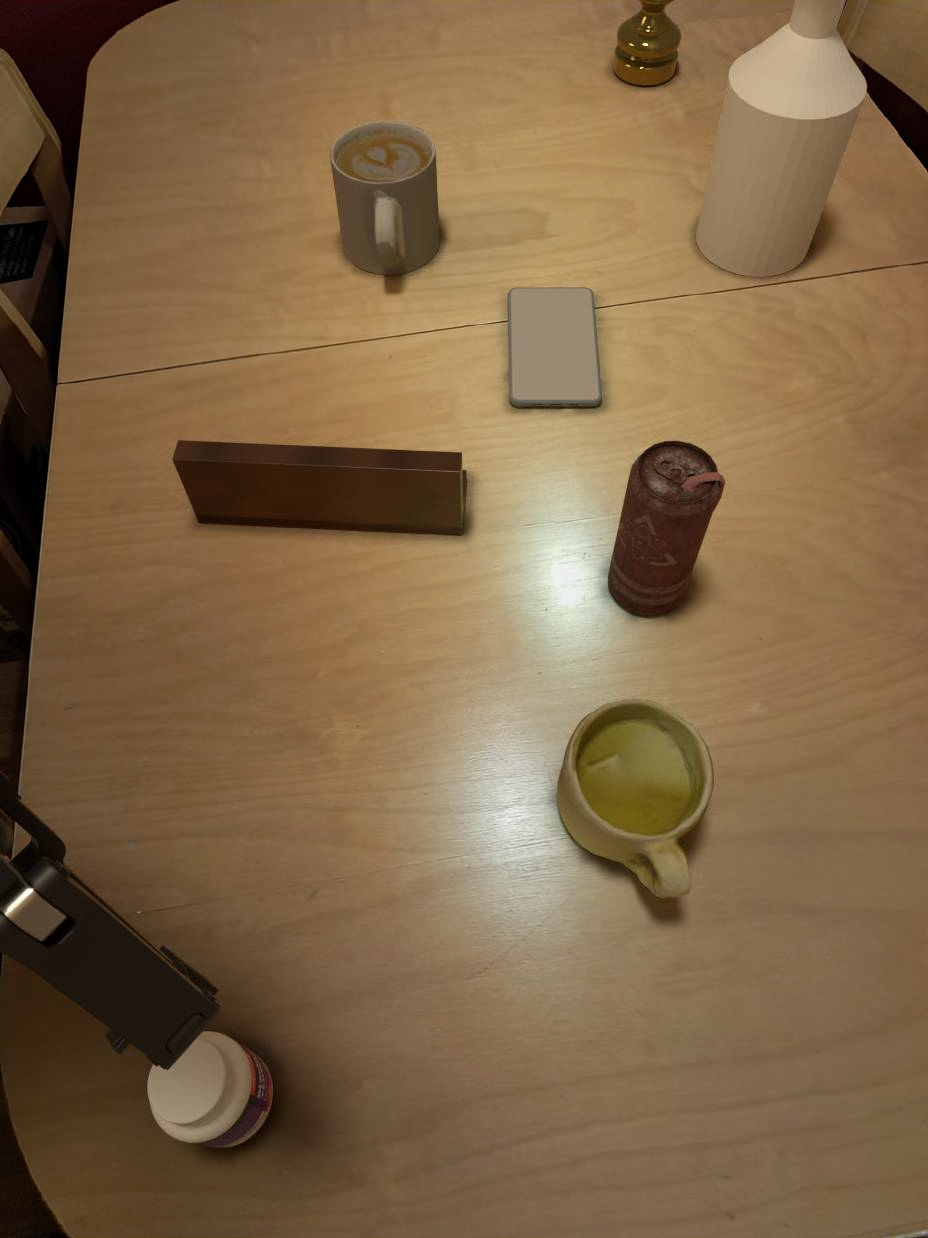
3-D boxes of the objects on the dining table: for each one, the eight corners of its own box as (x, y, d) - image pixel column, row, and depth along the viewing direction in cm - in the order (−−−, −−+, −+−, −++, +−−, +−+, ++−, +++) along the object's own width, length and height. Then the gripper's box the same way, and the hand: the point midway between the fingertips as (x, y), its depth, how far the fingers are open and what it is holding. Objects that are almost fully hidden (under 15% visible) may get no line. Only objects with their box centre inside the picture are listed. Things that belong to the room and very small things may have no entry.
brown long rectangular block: (198, 523, 78) (171, 459, 71) (213, 467, 81) (188, 401, 74) (462, 535, 77) (460, 472, 70) (466, 478, 80) (465, 412, 73)
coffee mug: (354, 208, 99) (343, 116, 91) (447, 216, 99) (444, 124, 90) (324, 292, 93) (309, 201, 84) (423, 302, 92) (418, 211, 83)
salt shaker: (605, 57, 114) (616, -35, 105) (664, 50, 115) (680, -42, 106) (621, 90, 110) (634, -2, 102) (682, 83, 111) (700, -9, 102)
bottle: (703, 280, 93) (770, 9, 71) (684, 205, 99) (741, -65, 78) (822, 276, 93) (925, 3, 72) (796, 201, 99) (883, -70, 78)
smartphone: (509, 401, 84) (507, 286, 91) (509, 409, 84) (507, 294, 92) (603, 401, 83) (593, 285, 91) (601, 409, 84) (592, 294, 92)
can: (692, 617, 73) (735, 505, 61) (610, 618, 73) (636, 506, 61) (682, 553, 76) (721, 434, 64) (603, 554, 76) (627, 436, 64)
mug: (522, 724, 66) (582, 686, 57) (652, 732, 69) (728, 697, 60) (529, 905, 62) (595, 895, 53) (667, 905, 65) (751, 896, 56)
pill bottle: (293, 1097, 56) (260, 1081, 48) (220, 1170, 54) (173, 1167, 46) (238, 1027, 58) (197, 1000, 50) (165, 1095, 56) (111, 1079, 48)
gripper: (234, 888, 21) (349, 1028, 39) (-319, 381, 29) (-13, 690, 47) (-55, 1196, 18) (215, 1192, 36) (-576, 533, 26) (-145, 801, 44)
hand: (86, 907), depth 42 cm, fingers open, 13 cm apart
